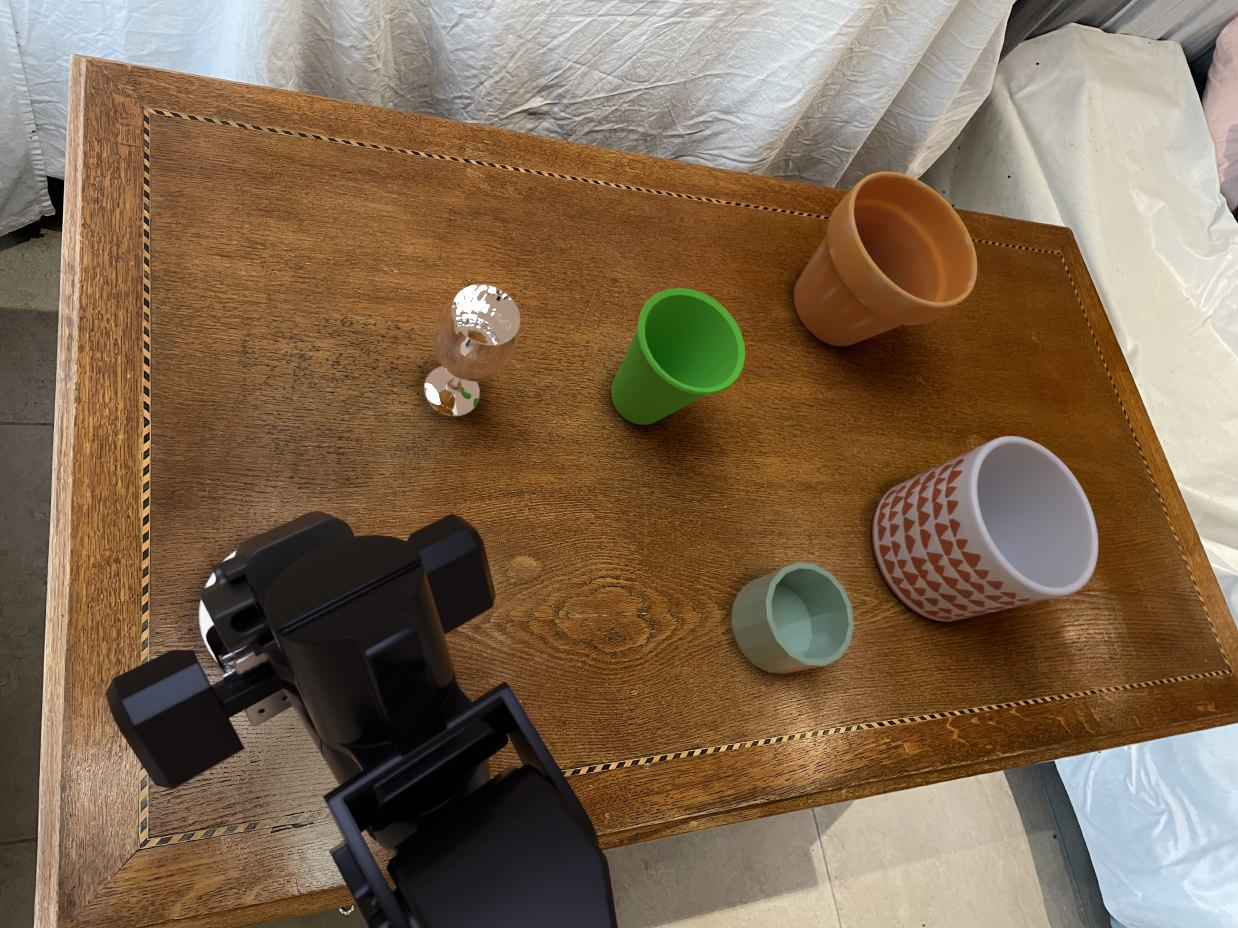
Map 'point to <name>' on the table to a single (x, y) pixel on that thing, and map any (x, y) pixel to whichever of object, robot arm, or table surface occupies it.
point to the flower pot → (885, 262)
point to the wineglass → (471, 347)
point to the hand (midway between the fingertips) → (274, 568)
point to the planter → (986, 532)
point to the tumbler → (793, 619)
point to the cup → (677, 356)
